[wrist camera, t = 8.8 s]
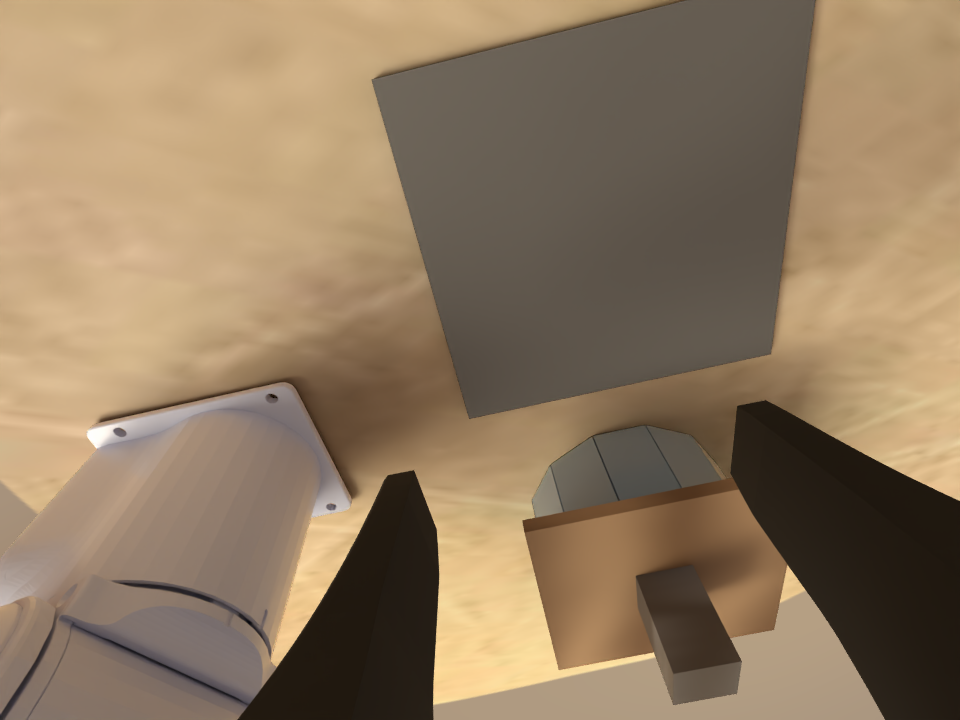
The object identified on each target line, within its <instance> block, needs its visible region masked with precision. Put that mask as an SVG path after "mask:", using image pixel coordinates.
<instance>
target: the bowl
mask: <svg viewBox="0 0 960 720" xmlns="http://www.w3.org/2000/svg"><path fill="white" fill-rule="evenodd" d="M724 479H727V478H726V477H725V475H724V474H723V473H722V471H721V470H720V468H719V467H718V465H717V464H716V462H715V461H714V460H713V459H712V458H711V457H710V456H709V455H708V453H707V452H706V451H705V450H704V449H703V448H702V447H701V446H700V444H699V443H698V442H697V441H696V440H695V439H694V438H693V437H692V436H691V435H688V434H683V433H679V432H674V431H670V430H666V429H661V428H657V427H652V426H648V425H646V426H645V425H643V426H638V427H633V428H629V429H624V430H619V431H614V432H610V433H605V434H600V435H595V436H593V437H590V438H589V439H587V440H586V441H584V442H583V443H582V444H580V445H579V446H577V447H576V448H574V449H573V450H571V451H570V452H568V453H567V454H565V455H564V456H562V457H561V458H560V459H558V460H557V461H555V462H554V463H552V464H551V465H550V466H549V468H548V470H547V472H546V474H545V476H544V478H543V480H542V482H541V484H540V486H539V487H538V489H537V491H536V493H535V495H534V497H533V499H532V504H533V509H534V513H535V518H537V517H542V516H547V515H552V514H557V513H562V512H567V511H572V510H576V509H581V508H586V507H591V506H596V505H601V504H606V503H611V502H616V501H621V500H626V499H631V498H636V497H641V496H645V495H650V494H655V493H660V492H665V491H670V490H675V489H680V488H685V487H690V486H695V485H700V484H705V483H709V482H714V481H719V480H724Z"/></svg>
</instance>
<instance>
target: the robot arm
mask: <svg viewBox="0 0 960 720" xmlns="http://www.w3.org/2000/svg"><path fill="white" fill-rule="evenodd" d="M268 394H274V395H276V396H277V397H278V398H272V397H270V396H269V395H268ZM120 428H122V429H124V430H125V431H123V430H121V429H120ZM87 437H88V438H89V440H90V441H91V442H92V443H93V444H94V446H95V447H96V448H97V450H96V451H95V452H94V453H93V454H92V455H91V456H90V457H89V459H88V460H87V461H86V462H85V463H84V464H83V465H82V466H81V468H80V469H79V470H78V471H77V472H76V473H75V474H74V475H73V477H72V478H71V479H70V480H69V481H68V482H67V483H66V484H65V485H64V487H63V488H62V489H61V490H60V491H59V492H58V493H57V494H56V496H55V497H54V498H53V499H52V500H51V501H50V502H49V503H48V504H47V506H46V507H45V508H44V509H43V510H42V511H41V512H40V513H39V515H38V516H37V517H36V518H35V519H34V520H33V521H32V522H31V524H30V525H29V526H28V527H27V528H26V529H25V530H24V531H23V533H22V534H21V535H20V536H19V537H18V538H17V539H16V540H15V541H14V543H13V544H12V545H11V546H10V547H9V548H8V549H7V551H6V552H5V553H4V555H3V556H2V558H1V559H0V720H433V680H434V662H435V644H436V627H437V609H438V589H439V559H438V543H437V529H436V527H435V524H434V521H433V519H432V516H431V513H430V511H429V508H428V506H427V503H426V500H425V498H424V495H423V492H422V490H421V487H420V485H419V482H418V479H417V477H416V474H415V472H414V470H413V471H408V472H403V473H398V474H393V475H388V476H387V477H386V479H385V480H384V482H383V484H382V486H381V489H380V491H379V493H378V495H377V497H376V499H375V502H374V504H373V506H372V508H371V510H370V512H369V514H368V516H367V518H366V520H365V522H364V524H363V526H362V528H361V530H360V532H359V534H358V536H357V538H356V540H355V542H354V544H353V546H352V547H351V549H350V551H349V553H348V555H347V557H346V559H345V561H344V563H343V564H342V566H341V568H340V570H339V571H338V573H337V575H336V577H335V578H334V580H333V582H332V583H331V585H330V587H329V588H328V590H327V592H326V594H325V595H324V597H323V599H322V600H321V602H320V604H319V605H318V607H317V609H316V610H315V612H314V613H313V615H312V617H311V618H310V620H309V621H308V623H307V624H306V626H305V627H304V629H303V630H302V632H301V634H300V635H299V636H298V638H297V639H296V641H295V642H294V644H293V645H292V647H291V648H290V650H289V651H288V653H287V654H286V655H285V657H284V658H283V660H282V661H281V662H280V664H279V665H278V667H276V666H274V665H273V663H272V662H271V658H272V654H273V651H274V647H275V644H276V640H277V636H278V633H279V629H280V626H281V622H282V619H283V615H284V612H285V608H286V605H287V601H288V598H289V594H290V591H291V587H292V584H293V580H294V576H295V573H296V569H297V566H298V562H299V559H300V555H301V552H302V548H303V545H304V541H305V538H306V534H307V531H308V527H309V524H310V520H311V518H312V517H317V516H322V515H326V514H331V513H336V512H341V511H345V510H348V509H349V508H350V506H351V502H352V499H351V496H350V494H349V492H348V490H347V488H346V486H345V484H344V482H343V480H342V479H341V477H340V475H339V473H338V471H337V469H336V467H335V465H334V463H333V461H332V459H331V457H330V455H329V453H328V451H327V449H326V447H325V445H324V443H323V441H322V439H321V437H320V435H319V434H318V432H317V430H316V428H315V426H314V424H313V422H312V420H311V418H310V416H309V414H308V412H307V410H306V408H305V406H304V404H303V402H302V400H301V398H300V396H299V394H298V392H297V391H296V389H295V388H294V386H293V385H291V384H289V383H286V382H280V383H276V384H271V385H267V386H262V387H258V388H253V389H249V390H244V391H240V392H235V393H231V394H226V395H222V396H217V397H213V398H208V399H204V400H199V401H195V402H190V403H186V404H181V405H177V406H172V407H168V408H163V409H159V410H154V411H150V412H146V413H141V414H137V415H132V416H128V417H123V418H119V419H114V420H110V421H105V422H101V423H96V424H94V425H92V426H91V427H90V428H89V430H88V431H87ZM731 475H732V477H733V479H734V481H735V483H736V485H737V487H738V489H739V491H740V493H741V494H742V496H743V498H744V500H745V502H746V504H747V505H748V507H749V509H750V511H751V513H752V514H753V516H754V517H755V519H756V520H757V522H758V523H759V525H760V526H761V528H762V529H763V531H764V532H765V533H766V535H767V536H768V538H769V539H770V540H771V542H772V543H773V545H774V546H775V548H776V549H777V550H778V552H779V553H780V555H781V556H782V557H783V559H784V560H785V562H786V563H787V564H788V566H789V567H790V569H791V570H792V571H793V573H794V574H795V576H796V577H797V578H798V580H799V581H800V583H801V584H802V586H803V587H804V588H805V590H806V591H807V593H808V594H809V595H810V597H811V598H812V600H813V601H814V602H815V604H816V605H817V607H818V608H819V609H820V611H821V612H822V614H823V615H824V617H825V618H826V620H827V621H828V623H829V624H830V626H831V627H832V629H833V630H834V632H835V633H836V635H837V637H838V638H839V640H840V642H841V643H842V645H843V647H844V649H845V650H846V652H847V654H848V655H849V657H850V659H851V661H852V662H853V664H854V666H855V667H856V669H857V671H858V673H859V674H860V676H861V678H862V679H863V681H864V683H865V684H866V686H867V688H868V689H869V692H870V693H871V695H872V697H873V699H874V701H875V702H876V704H877V706H878V708H879V710H880V711H881V713H882V715H883V717H884V719H885V720H960V501H958V500H956V499H954V498H952V497H950V496H947V495H945V494H943V493H941V492H939V491H937V490H935V489H933V488H931V487H929V486H927V485H925V484H922V483H920V482H918V481H916V480H914V479H912V478H910V477H908V476H906V475H904V474H902V473H900V472H898V471H896V470H894V469H892V468H890V467H888V466H886V465H884V464H882V463H880V462H878V461H876V460H874V459H873V458H871V457H869V456H867V455H865V454H863V453H861V452H859V451H858V450H856V449H854V448H852V447H850V446H848V445H846V444H845V443H843V442H841V441H839V440H837V439H835V438H834V437H832V436H830V435H828V434H826V433H825V432H823V431H821V430H819V429H817V428H816V427H814V426H812V425H810V424H808V423H807V422H805V421H803V420H801V419H799V418H798V417H796V416H794V415H792V414H790V413H789V412H787V411H785V410H783V409H781V408H779V407H778V406H776V405H774V404H772V403H770V402H768V401H766V400H765V401H760V402H755V403H750V404H745V405H740V406H737V414H736V424H735V434H734V444H733V453H732V463H731ZM329 503H333V504H329Z"/></svg>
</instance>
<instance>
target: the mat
mask: <svg viewBox="0 0 960 720" xmlns="http://www.w3.org/2000/svg"><path fill="white" fill-rule="evenodd" d="M814 7H815V0H686V1H682V2H678V3H674V4H670V5H666V6H662V7H658V8H654V9H650V10H646V11H642V12H638V13H634V14H630V15H626V16H622V17H618V18H614V19H610V20H606V21H602V22H598V23H594V24H590V25H586V26H582V27H579V28H575V29H571V30H567V31H563V32H559V33H555V34H551V35H547V36H543V37H539V38H535V39H531V40H527V41H523V42H519V43H515V44H511V45H507V46H503V47H499V48H495V49H491V50H487V51H483V52H479V53H475V54H471V55H468V56H464V57H460V58H456V59H452V60H448V61H444V62H440V63H436V64H432V65H428V66H424V67H420V68H416V69H412V70H408V71H404V72H400V73H396V74H392V75H388V76H384V77H380V78H376V79H372V83H373V87H374V90H375V93H376V97H377V100H378V104H379V107H380V111H381V114H382V118H383V121H384V125H385V128H386V132H387V135H388V139H389V142H390V146H391V149H392V152H393V156H394V159H395V163H396V166H397V170H398V173H399V177H400V180H401V184H402V187H403V191H404V194H405V198H406V201H407V205H408V208H409V211H410V215H411V218H412V222H413V225H414V229H415V232H416V236H417V239H418V243H419V246H420V250H421V253H422V257H423V260H424V264H425V267H426V271H427V274H428V277H429V281H430V284H431V288H432V291H433V295H434V298H435V302H436V305H437V309H438V312H439V316H440V319H441V323H442V326H443V330H444V333H445V336H446V340H447V343H448V347H449V350H450V354H451V357H452V361H453V364H454V368H455V371H456V375H457V378H458V382H459V385H460V389H461V392H462V395H463V399H464V402H465V406H466V409H467V413H468V416H469V419H471V418H476V417H481V416H485V415H490V414H495V413H499V412H504V411H509V410H513V409H518V408H523V407H527V406H532V405H537V404H541V403H546V402H550V401H555V400H560V399H564V398H569V397H574V396H578V395H583V394H588V393H592V392H597V391H602V390H606V389H611V388H616V387H620V386H625V385H630V384H634V383H639V382H644V381H648V380H653V379H657V378H662V377H667V376H671V375H676V374H681V373H685V372H690V371H695V370H699V369H704V368H709V367H713V366H718V365H723V364H727V363H732V362H737V361H741V360H746V359H751V358H755V357H760V356H765V355H769V354H771V349H772V341H773V333H774V325H775V317H776V309H777V302H778V294H779V286H780V278H781V270H782V262H783V254H784V246H785V238H786V230H787V222H788V214H789V206H790V198H791V190H792V182H793V174H794V166H795V158H796V150H797V143H798V135H799V127H800V119H801V111H802V103H803V95H804V87H805V79H806V71H807V63H808V55H809V47H810V39H811V31H812V23H813V15H814Z"/></svg>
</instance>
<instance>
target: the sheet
mask: <svg viewBox="0 0 960 720" xmlns="http://www.w3.org/2000/svg"><path fill="white" fill-rule="evenodd" d="M522 521H523V526H524V532H525V536H526V540H527V544H528V548H529V552H530V556H531V560H532V564H533V568H534V572H535V576H536V580H537V584H538V588H539V592H540V596H541V600H542V604H543V608H544V612H545V616H546V620H547V624H548V628H549V632H550V636H551V640H552V644H553V648H554V652H555V656H556V660H557V664H558V668H559V670H562V669H567V668H572V667H578V666H583V665H588V664H594V663H599V662H604V661H610V660H615V659H621V658H626V657H631V656H637V655H642V654H647V653H653V652H654V654H655V656H656V659H657V662H658V665H659V667H660V670H661V673H662V675H663V678H664V681H665V683H666V686H667V689H668V692H669V694H670V697H671V700H672V702H673V705H677V704H681V703H688V702H693V701H699V700H704V699H710V698H715V697H721V696H726V695H731V694H737V690H738V683H739V677H740V670H741V663H742V661H741V659H740V657H739V655H738V653H737V651H736V649H735V647H734V645H733V643H732V641H731V640H730V638H733V637H738V636H743V635H748V634H754V633H759V632H765V631H770V630H774V627H775V622H776V617H777V613H778V608H779V603H780V598H781V593H782V588H783V583H784V578H785V573H786V568H787V563H786V562H785V560H784V559H783V557H782V556H781V555H780V553H779V552H778V550H777V549H776V548H775V546H774V545H773V543H772V542H771V540H770V539H769V538H768V536H767V535H766V533H765V532H764V531H763V529H762V528H761V526H760V525H759V523H758V522H757V520H756V519H755V517H754V516H753V514H752V513H751V511H750V509H749V507H748V505H747V504H746V502H745V500H744V498H743V496H742V494H741V493H740V491H739V489H738V487H737V485H736V483H735V481H734V479H733V478H729V479H724V480H719V481H714V482H709V483H705V484H700V485H695V486H690V487H685V488H680V489H675V490H670V491H665V492H660V493H655V494H650V495H645V496H641V497H636V498H631V499H626V500H621V501H616V502H611V503H606V504H601V505H596V506H591V507H586V508H581V509H576V510H572V511H567V512H562V513H557V514H552V515H547V516H542V517H537V518H532V519H527V520H522Z"/></svg>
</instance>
